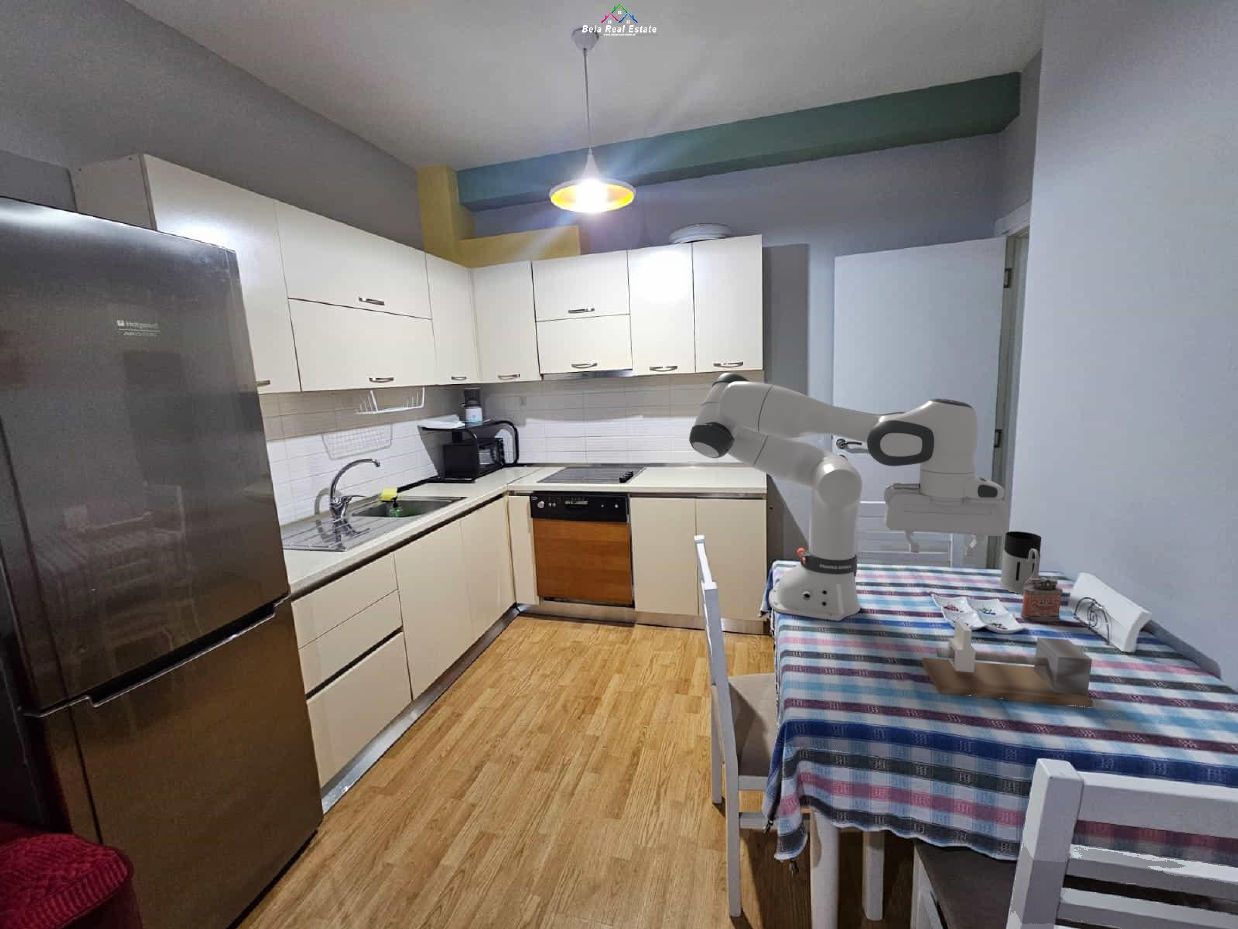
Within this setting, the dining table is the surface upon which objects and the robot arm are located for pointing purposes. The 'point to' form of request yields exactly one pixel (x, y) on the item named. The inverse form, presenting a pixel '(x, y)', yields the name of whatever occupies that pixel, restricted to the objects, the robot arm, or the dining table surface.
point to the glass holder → (1020, 560)
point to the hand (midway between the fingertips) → (941, 553)
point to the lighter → (1041, 600)
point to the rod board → (1019, 675)
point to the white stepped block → (962, 648)
